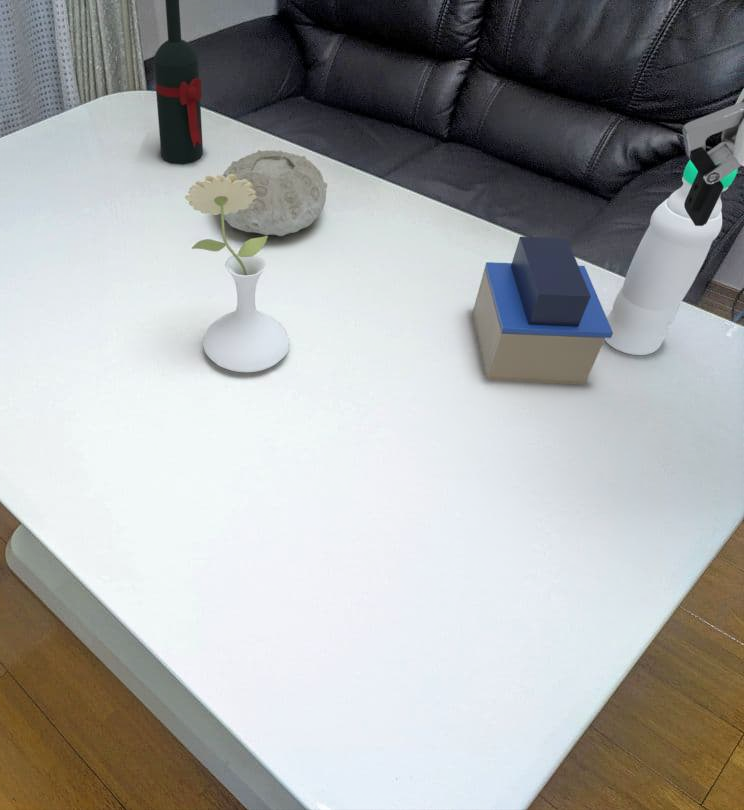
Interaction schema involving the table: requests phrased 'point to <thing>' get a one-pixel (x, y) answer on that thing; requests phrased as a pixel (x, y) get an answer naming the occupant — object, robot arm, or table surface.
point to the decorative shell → (278, 193)
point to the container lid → (515, 317)
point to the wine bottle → (178, 94)
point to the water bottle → (662, 271)
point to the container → (530, 349)
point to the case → (549, 282)
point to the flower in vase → (238, 285)
